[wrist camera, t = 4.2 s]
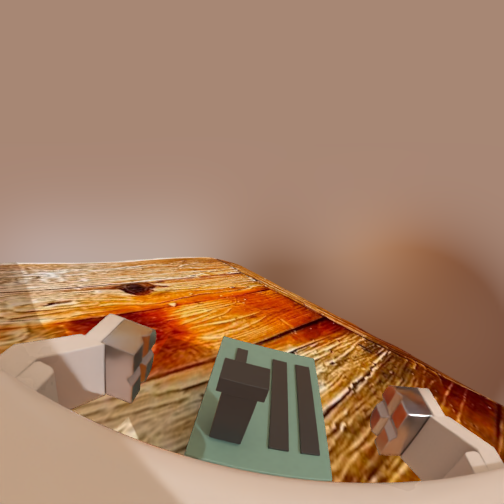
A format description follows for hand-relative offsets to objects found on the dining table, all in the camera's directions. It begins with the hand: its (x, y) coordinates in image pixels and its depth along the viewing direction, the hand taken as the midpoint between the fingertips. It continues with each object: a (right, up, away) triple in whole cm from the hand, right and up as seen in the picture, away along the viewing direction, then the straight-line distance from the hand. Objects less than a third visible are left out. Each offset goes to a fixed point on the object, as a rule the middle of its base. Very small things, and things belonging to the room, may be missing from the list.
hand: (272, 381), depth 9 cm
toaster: (-2, -18, +20) cm, 27 cm away
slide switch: (-3, -10, +12) cm, 16 cm away
